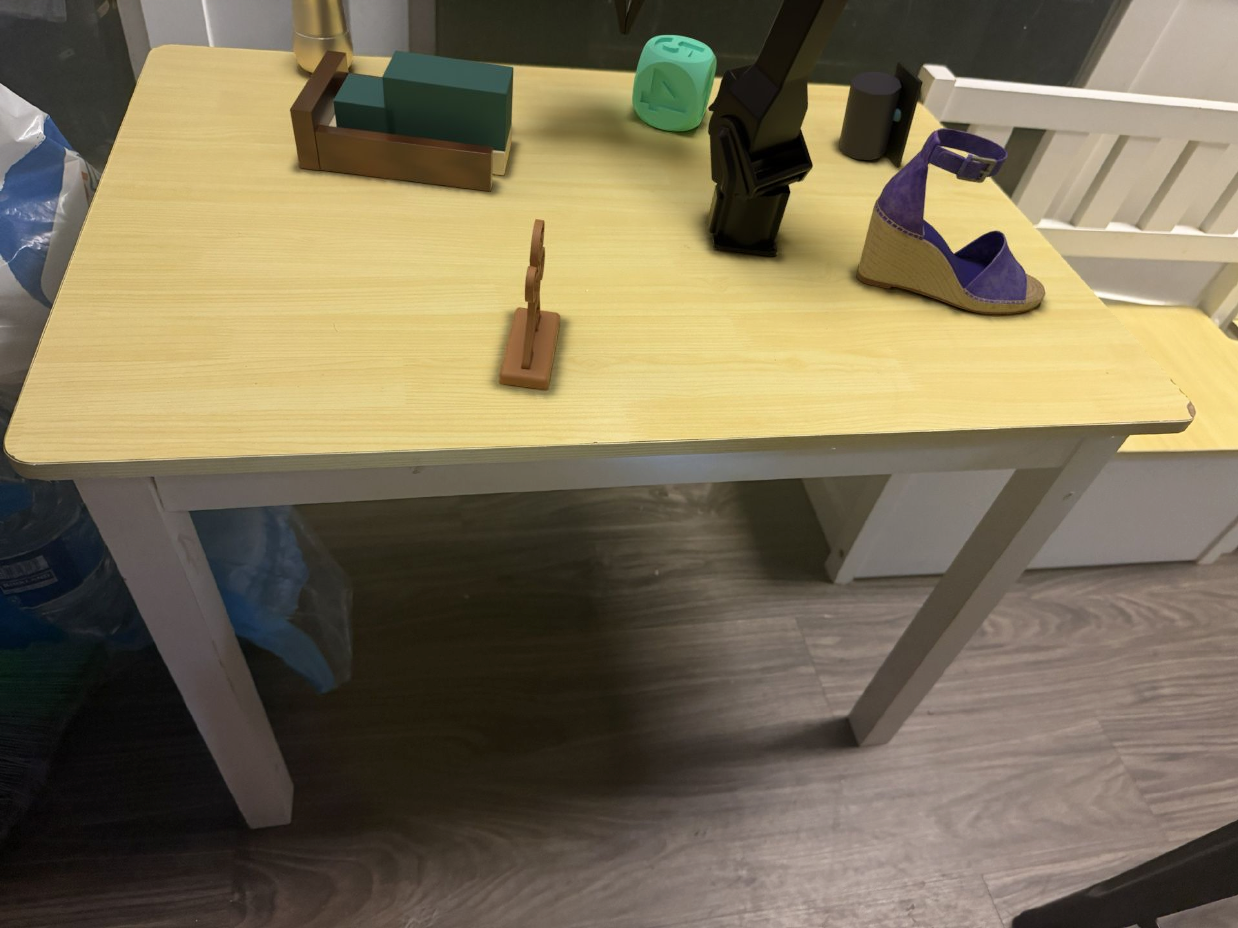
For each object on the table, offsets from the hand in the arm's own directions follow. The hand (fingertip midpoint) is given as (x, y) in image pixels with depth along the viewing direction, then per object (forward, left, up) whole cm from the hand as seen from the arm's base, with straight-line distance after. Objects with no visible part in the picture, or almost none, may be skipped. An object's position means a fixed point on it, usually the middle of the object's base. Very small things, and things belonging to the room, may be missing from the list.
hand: (624, 34), depth 85 cm
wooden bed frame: (+21, +7, -12) cm, 25 cm away
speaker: (-31, -6, -12) cm, 34 cm away
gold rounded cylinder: (+34, -9, -12) cm, 37 cm away
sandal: (-34, +21, -12) cm, 42 cm away
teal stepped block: (+20, +6, -12) cm, 24 cm away
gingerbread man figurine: (+6, +37, -12) cm, 40 cm away
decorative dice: (-7, -9, -12) cm, 17 cm away
